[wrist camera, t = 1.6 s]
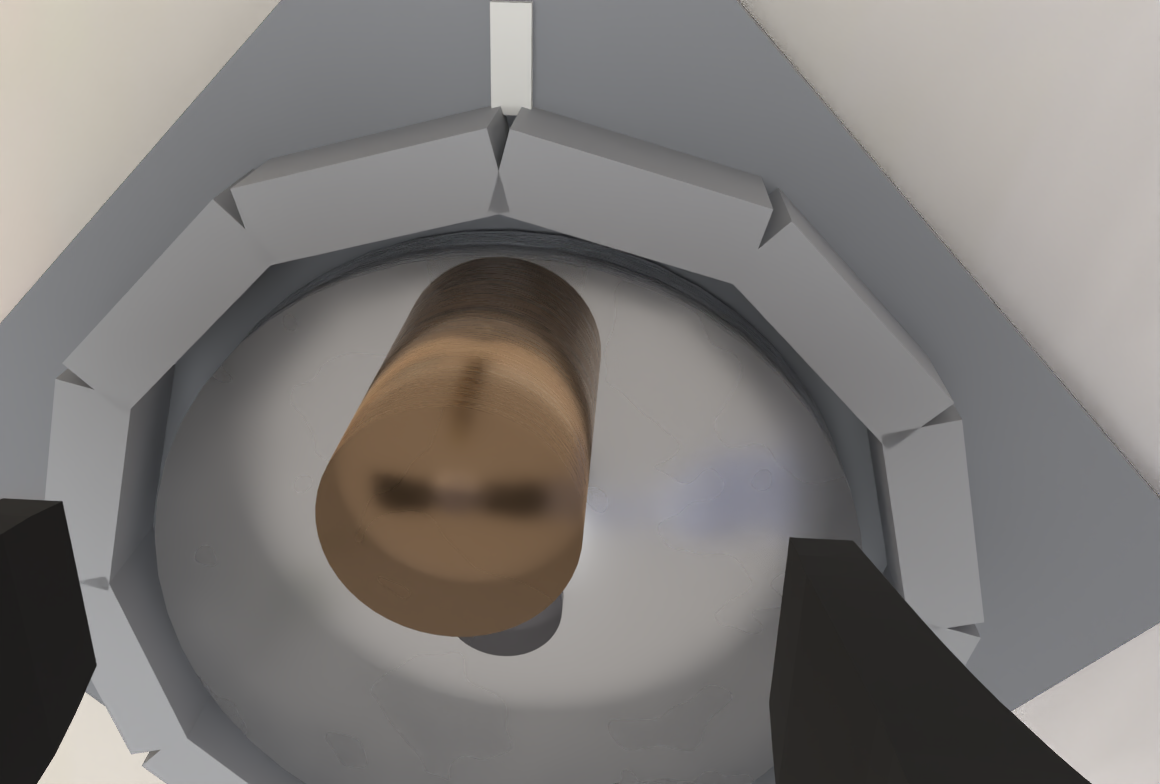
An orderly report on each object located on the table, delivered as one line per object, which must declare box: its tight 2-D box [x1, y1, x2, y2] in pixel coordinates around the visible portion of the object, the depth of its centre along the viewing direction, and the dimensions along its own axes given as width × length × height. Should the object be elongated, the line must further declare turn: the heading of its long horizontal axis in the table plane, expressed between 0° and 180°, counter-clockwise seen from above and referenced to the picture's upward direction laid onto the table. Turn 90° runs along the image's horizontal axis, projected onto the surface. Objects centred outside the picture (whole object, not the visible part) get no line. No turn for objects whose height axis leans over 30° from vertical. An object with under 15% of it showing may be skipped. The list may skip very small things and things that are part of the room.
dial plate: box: [0, 0, 1160, 784], centre depth 20 cm, size 18×18×3 cm
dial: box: [155, 230, 862, 784], centre depth 17 cm, size 12×12×6 cm
